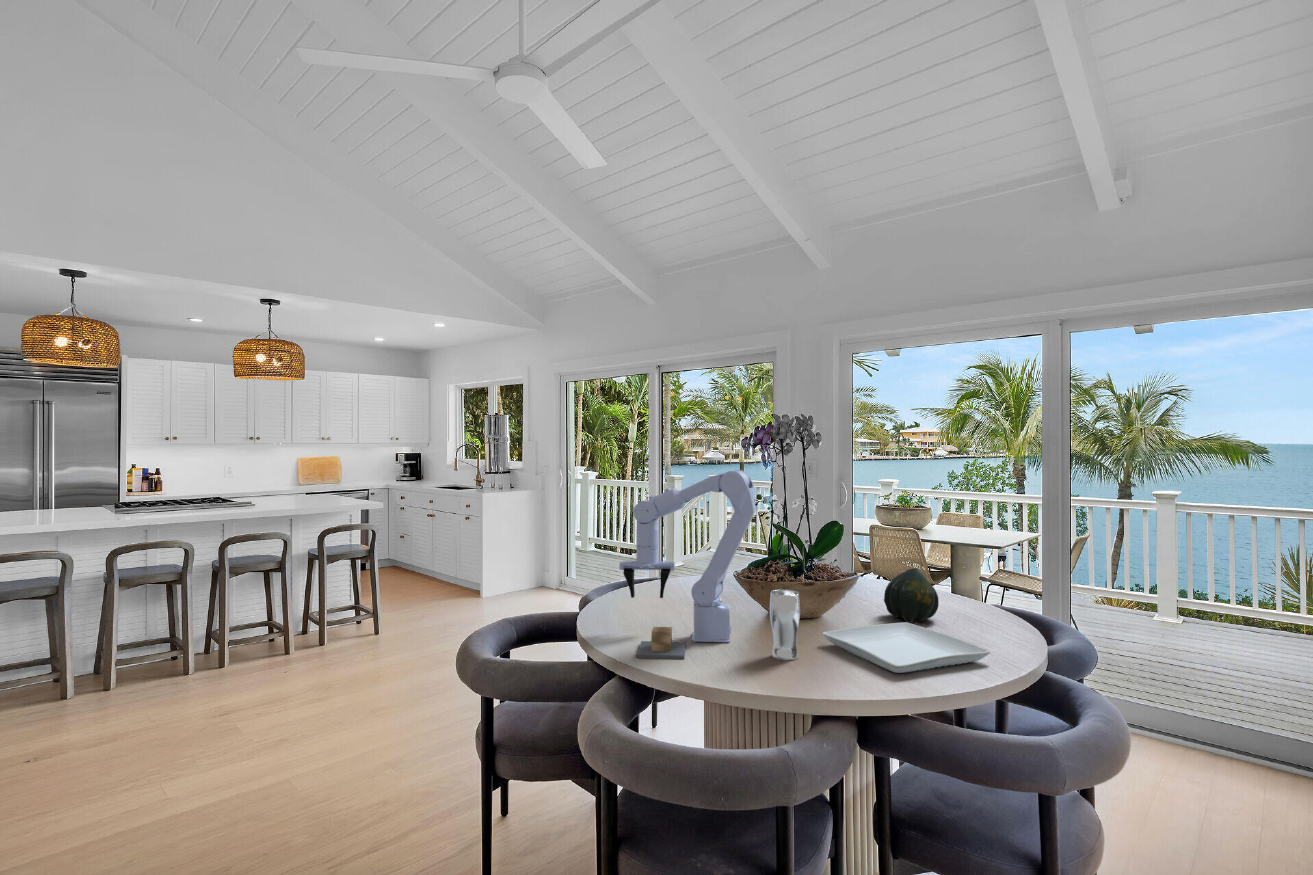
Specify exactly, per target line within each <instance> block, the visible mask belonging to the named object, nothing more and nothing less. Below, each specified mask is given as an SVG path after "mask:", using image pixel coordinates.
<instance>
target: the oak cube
mask: <svg viewBox="0 0 1313 875" xmlns="http://www.w3.org/2000/svg"><path fill="white" fill-rule="evenodd" d="M672 636H673V627H672V626H653V627H652V629H651V636H650V637H651V640H650V641H652V651H671V647H672V642H673V637H672Z"/></svg>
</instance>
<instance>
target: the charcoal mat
mask: <svg viewBox="0 0 1313 875" xmlns="http://www.w3.org/2000/svg"><path fill="white" fill-rule="evenodd" d="M685 653H686V641H672V647H671V651H652V640H650V641H649V640H641V641H640V644H639V647H638V650H637V654H636V659H663V660H664V659H665V660H666V659H667V660H668V659H669V660H685Z"/></svg>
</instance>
